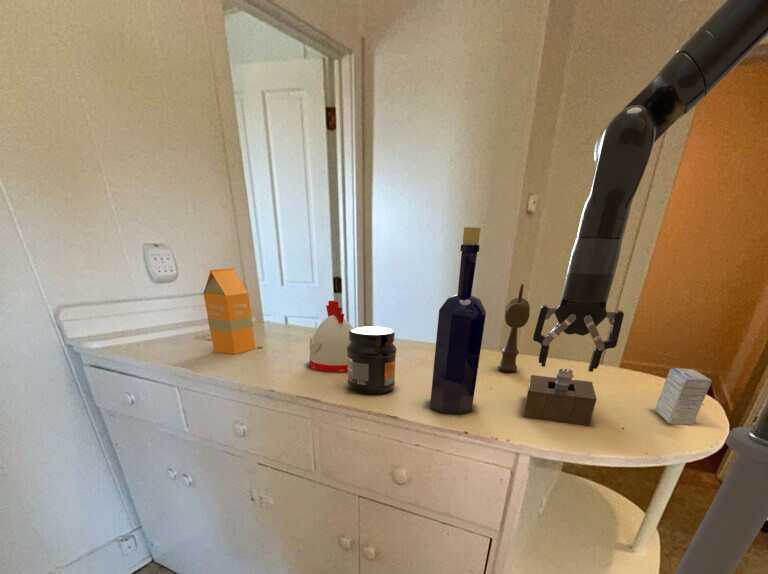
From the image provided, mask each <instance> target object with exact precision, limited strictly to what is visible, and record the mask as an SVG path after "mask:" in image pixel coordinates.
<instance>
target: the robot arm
mask: <svg viewBox="0 0 768 574" xmlns="http://www.w3.org/2000/svg"><path fill="white" fill-rule="evenodd" d="M766 37H768V0H725V1H724V2H723V3H722V4H720V6H719V7H718V8H717V9H716V10H715V11H714V12H713V13H712V14H711V15H710V16H709V17H708V18H707V19H706V20H705V21H704V22H703V23H702V24H701V25H700V26H699V27H698V28H697V29H696V30H695V32H693V34H692V35H690V36H689V38H688V39H687V40H686V41H685V42H684V43H683V44H682V45H681V46H680V47H679V48H678V49H677V50H676V51H675V52H674V54H673V55H672V56H671V57H670V58H669V59H668V61H666V63H665V64H664V65H663V66H662V67H661V69H660V70H659V71H658V73H657V74H656V75H655V76H654V77H653V78H652V79H651V81H650V82H649V83H648V84H647V85H646V86H645V87H644V88H643V89H642V90H641V91H640V92H639V93H638V94H636V96H635V97H634V98H632V100H630V101H629V102H628V104H626V106H625V107H623V109H622V110H620V111H619V112H618V113H617V114H616V115H614V116H613V118H611V119H610V121H609V122H608V123H607V124H606V125H605V126H604V128H603V129H601V132H600V133H599V135H598V137H597V139H596V142H595V145H594V150H593V161H594V164H595V166H596V168H595V173H594V177H593V182H592V186H591V190H590V193H589V195H588V196H587V199H586V201H585V203H584V206H583V210H582V212H581V215H580V221H579V226H578V230H577V233H576V234H577V235H576V238H575V241H574V244H573V247H572V251H571V254H570V257H569V262H568V265H567V270H566V275H565V278H564V279H565V280H564V284H563V289H562V294H561V298H560V301H559V304H558V306H557V307H554V306H548V305H547V304H543V305H541V307H540V310H539V313H538V317H537V322H536V325H535V329H534V333H533V337H532V340H533V341H534V342H537V343H539V344H540V351H539V355H538V363H539V364H540V367H544V368H546V364H547V359H548V355H549V350H550V344H551V343H552V342H553V341H554V340H555V339H556V338H557V337H559V336H560V335H561V334H562V333H565V334H566V335H570V336H571V335H578V336H586V335H590V336H591V339H592V341H593V343H594V346H595V348H593V349H592V354H591V357H590V361H589V365H588V369H587V370H588V372H591V373H594V370H597V369H598V368H599V366H600V362H601V359H602V356H603V354H604V353H603V352H604V351H605V350H609V349H615V348H616V347H617V346H618V342H619V336H620V333H621V329H622V325H623V320H624V316H625V314H624V313H625V312H623V310H621V309H617V310H607V304H608V300H609V297H610V296H609V295H610V292H611V290H612V289H611V288H612V285H613V283H614V279H615V275H616V272H617V268H618V265H619V262H620V261H619V260H620V256H621V252H622V251H621V250H622V244H623V239H624V236H625V233H626V230H627V226H628V222H629V218H630V215H631V209H632V206H633V201H634V199H635V197H636V194H637V192H638V189H639V187H640V184H641V182H642V179H643V177H644V175H645V172H646V169H647V166H648V164H649V161H650V158H651V155H652V153H653V149H654V145H655V143H656V142H657V141H658V140H659V139H660V138H661V137H662V136H663V135H664V134H665V133H666V132H667V131H668V130H669V129H670V128H671V127H672V125H674V124H675V123H676V122H677V121H679V120H680V119H681V118H682V117H684V116H685V115H687V114H688V113H689V112H690V111H691V110H693V109H694V108H695V107H696V106H698V105H699V104H700V103H701V102H702V101H703V100H704V99H705V98H706V97H707V96H708V95H709V94H711V92H712V91H713V90H714V89H715V88H717V87H718V86H719V84H721V82H722V81H723V80H725V79H726V78H727V77H728V76H729V75H730V74H731V73H732V72H733V71H734V70H735V69H736V68H737V67H738V66H739V65H740V64H741V63H742V62H743V61H744V60H745V59H746V58H747V57H748V56H749V55H750V54H751V53H752V52H753V51H754V50H755V49H756V48H757V47H758V46H759V45H760V44H761V43H762V42H763V40H765V39H766ZM552 315H555V317H556V320H557V322H558V323H557V324H556V325H555V326H554V327H553V328H552V329H551V330H550V331H549V332H548V333H547V334H546V335H543V334H542V332H543V329H544V324H545V321H547V320H550V318H551V317H552ZM606 318H607V319H608V321H607V322H608V324H609V325H611V326H610V331H609V336H608V339H607V340H602V339H603V338H602V337H601V335H600V332H599V330H598V329H597V327H598V326H599V325H600V324H601V323H602V322H603V321H604V320H605V319H606ZM752 423H753V424H752V426H751V427H752V429H751V430H750V431H749V433H748V437H749V438H750V439H751V440H753V441H755V442H757V443H759V444H761V445H764V446H767V447H768V398H767V399H766V401H765V403H764V404H763V406H762V408H761V411H760V412H759V414H758V415H756V416H754V418H753V420H752Z"/></svg>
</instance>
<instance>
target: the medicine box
mask: <svg viewBox="0 0 768 574" xmlns="http://www.w3.org/2000/svg"><path fill="white" fill-rule="evenodd" d="M664 381H665V382H664V384H663V387H662V388H661V392H660V395H659V397H658V398H657V399H658V400H657V402H656V404H655V408H654V411H655V412H656V413H657V414H658V415H659V416H660V417H661V418H663V420H665V421H666V422H667V423H668V424H670V425H678V426H690V427H691V426H694V424H695V421H696V419H697V416H698V414H699V412H700V409H701V407H702V405H703V403H704V400H705V398H706V396H707V393H708V391H709V389H710V386H711V384H712V379H710V378H709V377H707V376H706V375H704V374H703V373H701V372H699V371H696V370H695V369H691V368H680V367H679V368H678V367H677V368H670V369H669V371H668V373H667V376H666V378H665V380H664Z"/></svg>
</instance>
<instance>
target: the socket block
mask: <svg viewBox="0 0 768 574" xmlns="http://www.w3.org/2000/svg"><path fill="white" fill-rule="evenodd" d="M556 381H557V377H553V376H543V375H536V374H535V375H534V374H531V375H530V379H529V384H528V388H527V393H526V397H525V402H524V407H523V409H524V410H523V414H522V417H524V418H531V419H538V420H545V421H546V420H547V421H553V422H559V423H560V422H562V423H569V424H575V425H583V426H590V423H591V420H592V415H593V413H594V409H595V406H596V403H597V400H598V398H597V395H596V392H595V388H594V385H593V384H594V383H593V381H588V380H580V379H571V380H570V385H569V387H568V390H560V389H555V385H556V384H555V382H556Z"/></svg>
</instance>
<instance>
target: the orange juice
mask: <svg viewBox="0 0 768 574" xmlns="http://www.w3.org/2000/svg"><path fill="white" fill-rule="evenodd" d="M204 287H205V288H204V290H203V293H202V294H203V299H204V304H205V309H206V315H207V323H208V327H209V331H210V332H209V333H210V338H211V343H212V348H213V352H216V353H222V354H228V355H234V356H235V355H239V354H243V353H245V352H246V353H247V352H249V351H253V350H255V349H256V341H255V335H254V333H255V332H254V324H253V316H252V310H251V304H250V296H249V295H250V294H249V292H248V290H247V289H246V287H245V285H244V284H243V282H242V281H241V278H240V277H239V276H238V274H237V272H236V271H235V268H223V269H222V268H221V269H211V270H209V273H208V277H207V281H206V284H205V286H204Z"/></svg>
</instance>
